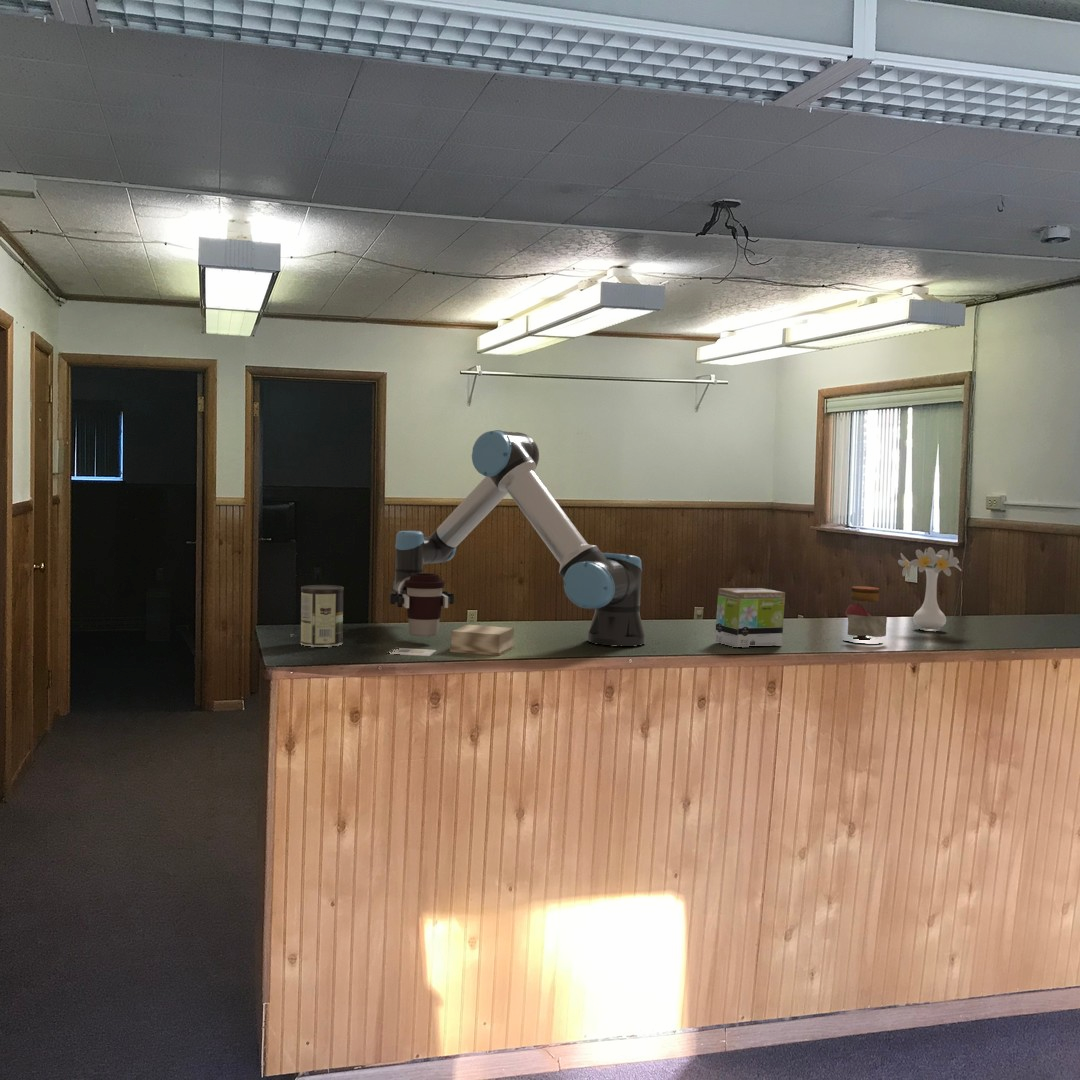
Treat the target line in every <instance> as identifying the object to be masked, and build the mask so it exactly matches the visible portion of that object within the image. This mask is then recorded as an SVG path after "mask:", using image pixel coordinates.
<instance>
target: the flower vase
mask: <svg viewBox="0 0 1080 1080" xmlns="http://www.w3.org/2000/svg"><path fill="white" fill-rule="evenodd" d="M915 555H916V558H917V559H912V560H911V561H909V560H908V559H907V558H906V557H905V555H904V554H903V553H902V552H900V558H901V559H898V560H897V562H898V565H899V566H900V567H903V568H902V573H901V574H902V577H905V576H906V574H907V577H908V578H909V577H910V573H911V567H912V570H913V569H916V568H918V572H919V573H923V572H924V571H925V575H926V576H925V577H926V583H925V585H926V586H925V593H924V594H925V595H924V598H923V599H924V600H923V603H922V605H921V606H920V608H919V609H918V610H917V611H916V612H915V613H914V615H913V618H912V621H913V623H914V624H915V625H916V626H918V627H920V628H925V629H941V628H942V627H944V626H945V625H946V623H947V617H946V615H945V613H944V612H943V611H942V610H941V609H940V607H939V603H938V599H937V597H938V595H937V593H938V591H937V586H938V577H939V573H940V572H941V571H942V572H943V573H944V574H945V575H946V576H948V577H951V576H952V570H951V569H950V568H951V567H954V568H957V569H958V570H959V571H960V572H962V569H961V566H960V565H958V564H960V561H959V559H958V557H956V556H955V557H954V550H953V548H952V547H950V550H949V551H948V550H945V549H941V550H939V551H938V552H937V553H936V551H935V550H934V548H933V547H930V546H929V547H928V548H927V547H926V548H925V549H924V552H923V551H922V550H920V549H916V550H915Z"/></svg>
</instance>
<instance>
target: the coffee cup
mask: <svg viewBox="0 0 1080 1080" xmlns="http://www.w3.org/2000/svg"><path fill="white" fill-rule="evenodd" d="M445 583H446V582H445V580H443V579H441V578H440V575H439V574H436V573H427V572H426V573H425V572H423V573H417V574H411V576H410V579H409V580H405V587H407V596H409V608H406V612H407V613H406V614H407V615H406V616H407V618H408V620H407V621H408V633H409V635H411V636H416V637H431V636H433V637H434V636H437V635H438V634H439V631H440V621H441V620H440V619H441V616H442V607H443V606H442V590H443V589H444V588H445V587H446V584H445Z"/></svg>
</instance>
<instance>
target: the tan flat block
mask: <svg viewBox="0 0 1080 1080" xmlns="http://www.w3.org/2000/svg"><path fill="white" fill-rule="evenodd" d="M514 629H515V628H514V627H507V626H506V627H505V626H494V625H493V626H492V625H481V624H480V625H477V624H466V625H462V626H460V627H458V628H456V629H453V630H451V633H450V634H451V639H450V643H451V644H450V649H449V653H450V652H451V653H460V654H473V655H485V656H496V657H498V656H502V655H504V654H505V652H506V653H507V652H509V651H511V650H513V649H515V645H514V637H515V635H514V634H515V630H514ZM512 648H513V649H512ZM510 649H511V650H510ZM508 650H509V651H508ZM503 653H504V654H503Z"/></svg>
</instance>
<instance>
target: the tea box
mask: <svg viewBox="0 0 1080 1080" xmlns="http://www.w3.org/2000/svg"><path fill="white" fill-rule="evenodd" d="M785 603H786V592H785V591H780V590H774V589H769V588H762V587H757V588H756V587H754V588H753V587H749V588H748V587H746V588H745V587H741V588H740V587H734V588H733V587H732V588H729V587H726V588H723V587H720V588H718V591H717V604H716V614H715V615H716V616H715V617H716V619H715V631H714V632H715V634H714V643H716V642H717V644H719V643H721V644H720V645H722V644H725V645H729V646H733V647H742V648H750V647H749V646H772V645H782V646H783V632H784V619H785V618H784V617H785V616H784V615H785ZM725 645H724V646H725ZM729 646H728V647H729ZM733 647H732V648H733Z"/></svg>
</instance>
